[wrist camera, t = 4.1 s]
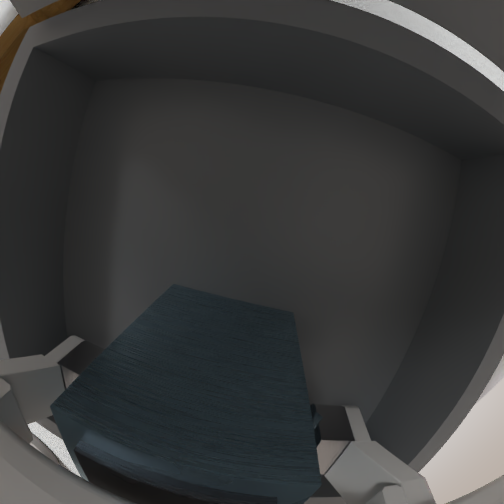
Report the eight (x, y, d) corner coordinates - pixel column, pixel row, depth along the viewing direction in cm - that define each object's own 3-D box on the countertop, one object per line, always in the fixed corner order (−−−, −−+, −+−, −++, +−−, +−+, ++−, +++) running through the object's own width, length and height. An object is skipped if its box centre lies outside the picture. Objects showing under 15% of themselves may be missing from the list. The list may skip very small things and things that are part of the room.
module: (173, 283, 10) (40, 416, 3) (293, 312, 10) (323, 499, 3) (164, 375, 11) (92, 507, 4) (263, 400, 11) (254, 552, 3)
